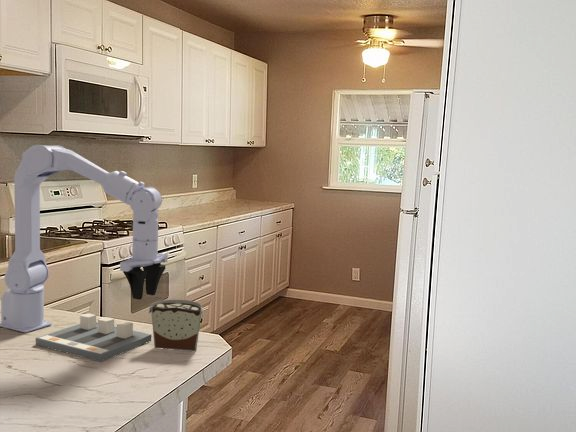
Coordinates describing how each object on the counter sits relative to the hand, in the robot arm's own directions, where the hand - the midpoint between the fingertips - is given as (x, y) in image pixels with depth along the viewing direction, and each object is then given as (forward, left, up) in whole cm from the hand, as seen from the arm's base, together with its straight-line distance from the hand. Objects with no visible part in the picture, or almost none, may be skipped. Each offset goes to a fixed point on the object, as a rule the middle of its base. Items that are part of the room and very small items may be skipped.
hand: (144, 296), depth 139 cm
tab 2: (-5, -6, -8) cm, 12 cm away
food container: (+11, -1, -10) cm, 15 cm away
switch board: (-6, -10, -9) cm, 15 cm away
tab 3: (0, -7, -8) cm, 10 cm away
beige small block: (-11, -6, -8) cm, 15 cm away
